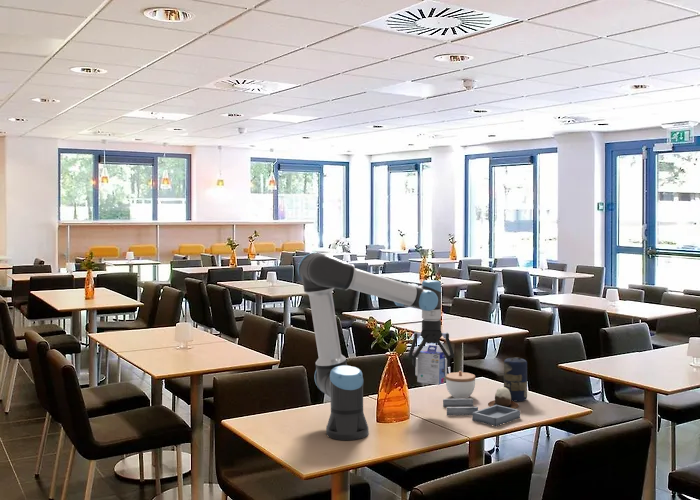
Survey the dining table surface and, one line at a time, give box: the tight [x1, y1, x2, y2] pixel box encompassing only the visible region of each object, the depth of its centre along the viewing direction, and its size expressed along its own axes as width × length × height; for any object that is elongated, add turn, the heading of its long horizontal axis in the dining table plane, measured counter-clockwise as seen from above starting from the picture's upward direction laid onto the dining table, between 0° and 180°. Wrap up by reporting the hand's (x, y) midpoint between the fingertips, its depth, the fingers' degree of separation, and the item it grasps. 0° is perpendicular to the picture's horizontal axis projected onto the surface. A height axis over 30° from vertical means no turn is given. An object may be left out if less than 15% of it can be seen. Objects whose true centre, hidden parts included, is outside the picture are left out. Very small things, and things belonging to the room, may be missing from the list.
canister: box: [503, 356, 528, 402], centre depth 290 cm, size 10×10×18 cm
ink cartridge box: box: [416, 344, 446, 386], centre depth 275 cm, size 10×6×14 cm, turn 59°
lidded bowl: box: [445, 370, 476, 399], centre depth 296 cm, size 13×13×11 cm
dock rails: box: [442, 398, 479, 416], centre depth 276 cm, size 12×13×3 cm
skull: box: [487, 386, 519, 409], centre depth 282 cm, size 12×10×10 cm
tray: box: [471, 405, 521, 427], centre depth 263 cm, size 11×15×3 cm
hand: (431, 374), depth 275 cm, fingers closed on ink cartridge box, 11 cm apart
